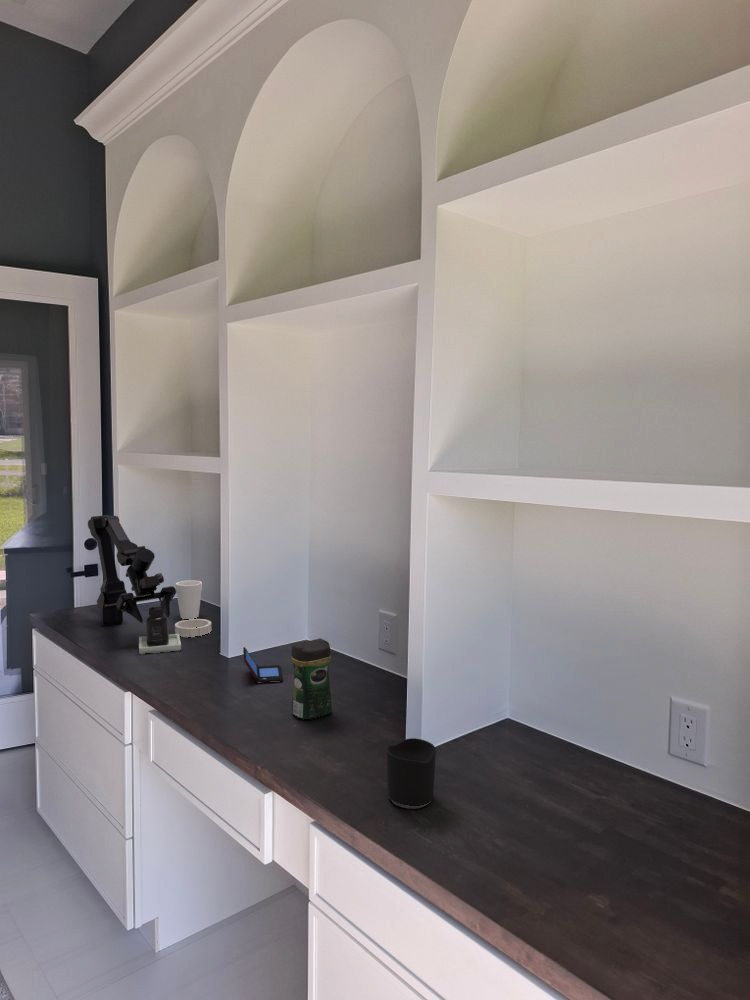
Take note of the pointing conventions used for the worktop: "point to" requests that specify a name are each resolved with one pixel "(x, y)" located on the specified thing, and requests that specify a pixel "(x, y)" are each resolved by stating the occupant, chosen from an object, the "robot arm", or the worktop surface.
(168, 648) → the sage tray
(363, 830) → the worktop surface
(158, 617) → the supplement bottle
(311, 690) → the coffee jar
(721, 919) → the worktop surface
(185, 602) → the foam cup
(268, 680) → the handheld game console
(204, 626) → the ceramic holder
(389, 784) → the pen holder
